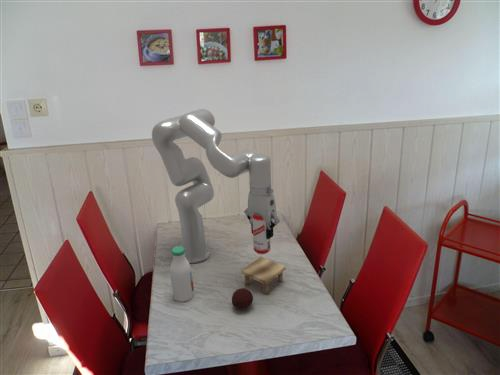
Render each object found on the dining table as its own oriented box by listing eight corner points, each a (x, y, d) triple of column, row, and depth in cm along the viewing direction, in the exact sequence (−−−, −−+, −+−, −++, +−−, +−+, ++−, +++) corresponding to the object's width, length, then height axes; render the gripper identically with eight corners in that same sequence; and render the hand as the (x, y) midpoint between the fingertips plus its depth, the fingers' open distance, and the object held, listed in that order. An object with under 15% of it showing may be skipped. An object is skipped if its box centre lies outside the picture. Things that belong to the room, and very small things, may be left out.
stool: (241, 284, 157) (241, 270, 155) (261, 270, 166) (260, 256, 163) (266, 296, 150) (266, 281, 147) (285, 280, 158) (285, 266, 156)
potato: (257, 307, 144) (256, 290, 142) (240, 317, 140) (239, 300, 137) (244, 297, 150) (243, 281, 147) (227, 306, 145) (226, 290, 143)
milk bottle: (190, 303, 148) (184, 255, 140) (170, 301, 150) (163, 253, 142) (197, 290, 155) (191, 244, 147) (177, 288, 157) (171, 242, 149)
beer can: (265, 257, 148) (264, 217, 142) (250, 252, 151) (248, 214, 145) (273, 248, 153) (272, 210, 147) (258, 244, 156) (257, 207, 150)
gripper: (287, 191, 140) (287, 237, 147) (248, 181, 151) (250, 224, 158) (274, 198, 135) (275, 246, 142) (234, 187, 146) (237, 232, 152)
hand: (262, 234), depth 150 cm, fingers closed on beer can, 6 cm apart
